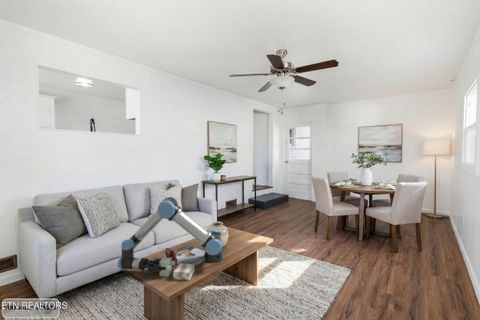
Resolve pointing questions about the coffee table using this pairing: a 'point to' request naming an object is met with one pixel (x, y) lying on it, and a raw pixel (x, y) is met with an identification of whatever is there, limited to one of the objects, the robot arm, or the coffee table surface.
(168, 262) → the sage green block
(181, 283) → the coffee table surface
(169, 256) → the red grape bunch
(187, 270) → the off-white base block
